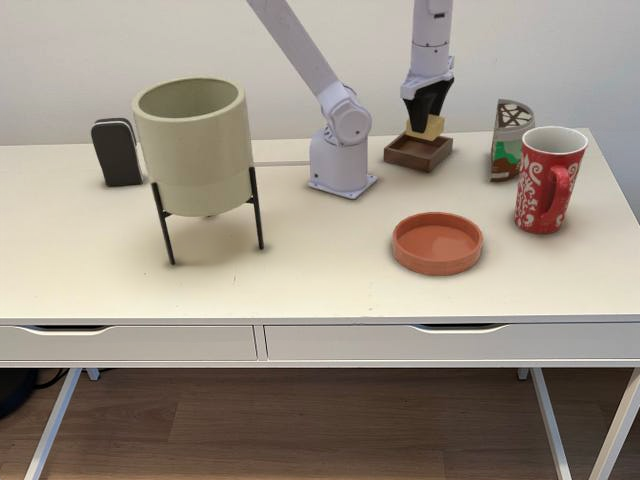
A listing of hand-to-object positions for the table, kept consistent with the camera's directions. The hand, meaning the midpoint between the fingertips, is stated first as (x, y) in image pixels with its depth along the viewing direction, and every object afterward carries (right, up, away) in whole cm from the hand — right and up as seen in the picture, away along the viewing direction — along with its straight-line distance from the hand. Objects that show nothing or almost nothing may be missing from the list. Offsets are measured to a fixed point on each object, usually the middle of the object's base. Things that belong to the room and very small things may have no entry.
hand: (424, 126), depth 110 cm
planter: (-34, -20, -6) cm, 40 cm away
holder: (+1, -2, +10) cm, 10 cm away
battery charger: (-53, -7, +10) cm, 54 cm away
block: (0, -1, +1) cm, 1 cm away
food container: (+16, -6, +5) cm, 17 cm away
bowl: (0, -22, -11) cm, 25 cm away
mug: (+16, -19, -8) cm, 26 cm away
